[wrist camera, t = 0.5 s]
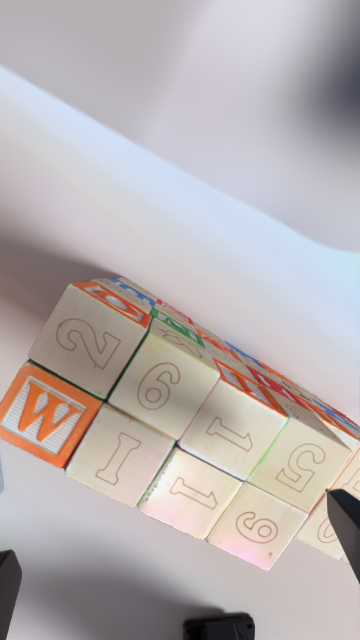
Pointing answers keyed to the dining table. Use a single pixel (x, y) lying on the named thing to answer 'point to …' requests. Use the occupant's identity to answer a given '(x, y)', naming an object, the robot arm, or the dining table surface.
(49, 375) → the stack of blocks
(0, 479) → the square wooden frame
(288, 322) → the dining table surface
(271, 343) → the dining table surface
